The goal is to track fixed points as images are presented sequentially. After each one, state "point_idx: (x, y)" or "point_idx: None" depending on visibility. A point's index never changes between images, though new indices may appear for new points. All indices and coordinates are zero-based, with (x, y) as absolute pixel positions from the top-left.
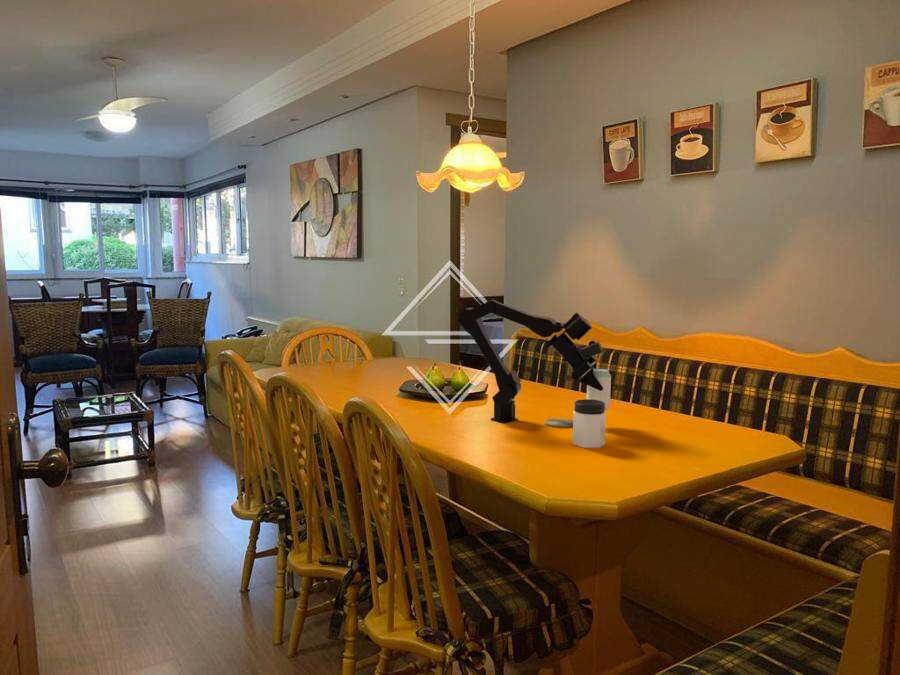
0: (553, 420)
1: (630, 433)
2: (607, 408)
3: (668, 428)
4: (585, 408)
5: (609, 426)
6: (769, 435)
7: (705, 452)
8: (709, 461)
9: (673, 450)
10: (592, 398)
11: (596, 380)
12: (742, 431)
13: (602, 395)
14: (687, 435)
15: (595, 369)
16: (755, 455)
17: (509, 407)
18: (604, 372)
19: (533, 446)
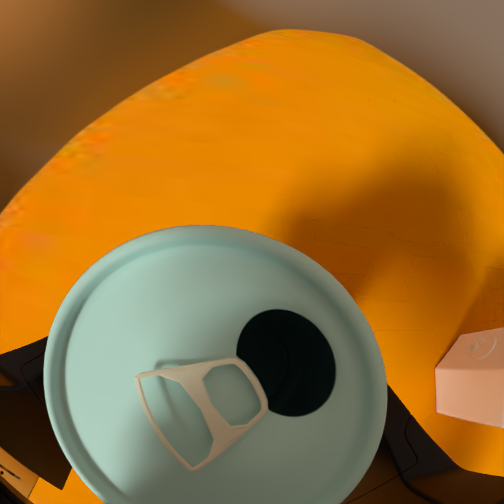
0: None
1: (331, 248)
2: (281, 318)
3: (246, 137)
4: None
5: None
6: (280, 33)
7: (436, 131)
8: (477, 147)
9: (452, 178)
10: (301, 411)
11: (408, 419)
12: (257, 47)
13: (319, 349)
14: (316, 115)
15: (66, 431)
16: (414, 80)
17: None
18: (363, 325)
19: None
